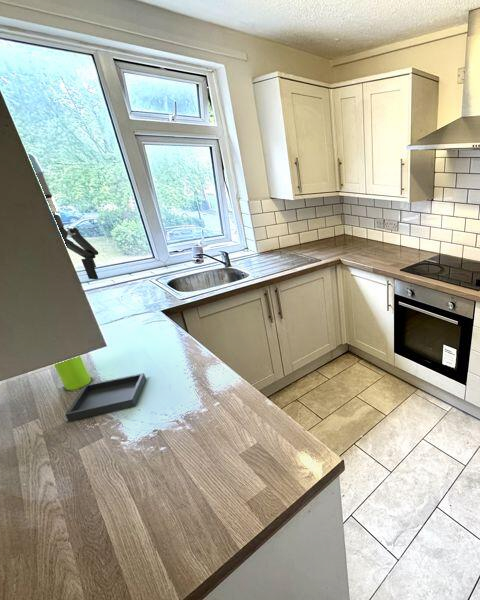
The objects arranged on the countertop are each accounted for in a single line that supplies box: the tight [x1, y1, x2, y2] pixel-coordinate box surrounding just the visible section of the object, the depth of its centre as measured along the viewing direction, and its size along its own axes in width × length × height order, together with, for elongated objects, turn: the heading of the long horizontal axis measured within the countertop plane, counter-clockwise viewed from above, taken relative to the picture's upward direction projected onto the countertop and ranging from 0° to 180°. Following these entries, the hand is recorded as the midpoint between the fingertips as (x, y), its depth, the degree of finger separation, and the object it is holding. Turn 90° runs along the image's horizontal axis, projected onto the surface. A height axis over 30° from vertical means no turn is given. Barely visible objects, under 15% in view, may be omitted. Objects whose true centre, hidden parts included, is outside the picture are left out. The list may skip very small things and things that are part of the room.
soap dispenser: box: [53, 355, 92, 391], centre depth 98 cm, size 6×7×20 cm
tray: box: [64, 372, 147, 422], centre depth 95 cm, size 15×14×2 cm
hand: (70, 286), depth 98 cm, fingers open, 13 cm apart
